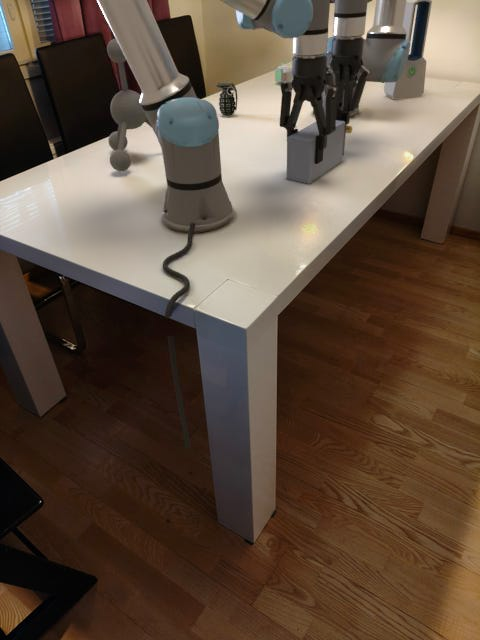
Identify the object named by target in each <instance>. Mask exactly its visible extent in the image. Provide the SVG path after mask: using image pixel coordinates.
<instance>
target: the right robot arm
mask: <svg viewBox="0 0 480 640" xmlns="http://www.w3.org/2000/svg"><path fill="white" fill-rule="evenodd" d="M406 1H407V0H375V7H374V16H373V21H372V22H373V23H372V26H371V28H369V30H367V31H366V22H367V10H368V3H371V2H373V0H330V4H334V12H333V23H332V24H333V25H332V26H333V27H332V36H328V45H327V52H326V53H325V54H324V55H326V57H327V65H326V75H325V80H326V83H327V85H329V86H331V87H334V86H336V87H337V88H338V91H337V94H336V98H335V102H336V120H338V121H345V122H347V123H346V126H349V124H350V119H351V118H354V117H356V116H357V115H359V112H360V102H361V99H362V95H363V92H364V90H365V86H366V83H367V82H368V83H369V82H371V83H381V84H385V82H396V81H398V80H399V78H400V77H401V75H402V73H403V71H404V69H405V66H406V63H407V59H408V56H409V54H410V52H411V42H410V41H409V40H408V39H406V34H407V33H406V31H405V30H404V28H403V19H404V13H405V7H406ZM365 33H366V37H365V38H364V37H363V36H364V35H365ZM322 99H323V103H322V104H323V108H324V113H325V117H326V96H325V91H323V93H322ZM316 101H317V100H316ZM312 114H313V116H315V114H314V110H313V109H312Z"/></svg>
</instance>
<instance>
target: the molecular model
mask: <svg viewBox="0 0 480 640" xmlns="http://www.w3.org/2000/svg"><path fill="white" fill-rule="evenodd" d="M106 52H107V55H108V57H109V59H110V60H111V61H112V62H114V63H115V64H117V68H118V73H119V79H120V85H121V89H122V90H120V91H118V92H117V93H116V94H115V95H114V96H113V97H112V99H111V102H110V115H111V117H112V119H113V120H114V122H115V123H116V124H117V125H118V127H117V131H113V132H111V133H110V134H109V136H108V138H107V139H108V145H109V147H110V148H111V149H112V150H113V152H111V154H110V156H109V163H110V166H111V167H112V169H114V170H115V171H117V172H126V171H128V169H129V168H130V167H131V164H132V158H131V156H130V154H129V153H128V152H127V151H126V148H127V147H128V137H127V130H134V129H138V128H140V127H141V126H143V124H144V123H146V124H147V125H148V126H149V127H150V128H152V126H151V124H150V122H149V120H148V118H147V116H146V114H145V112H144V110H143V108H142V106H141V104H140V102H139V101H140V97H141V94H140V93H139V92H137V91H134V90H132V89H129V86H128V81H127V73H126V69H125V62H127V60H126V58H125V56H124V54H123V52H122V50H121V48H120V46H119V44H118V42H117V40H116V38H115V37H114V38H112V39H111V40H109V42H108V44H107V46H106Z"/></svg>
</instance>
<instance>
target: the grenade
mask: <svg viewBox="0 0 480 640" xmlns="http://www.w3.org/2000/svg"><path fill="white" fill-rule="evenodd" d="M215 87H217V88H219V89H221V93H219V97H218V101H219V102H218V106H219V108H218V109H219V112H220V114H221V115H222V116H224V117H231V116H233V115H234V113H235V112H236V111H237V108H238V89H237V87H236V85H235V84H234V83H233V82H218V83H217V84H216V86H215ZM232 91H233V92H232ZM234 94H235V96H234Z"/></svg>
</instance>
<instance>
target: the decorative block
mask: <svg viewBox="0 0 480 640" xmlns="http://www.w3.org/2000/svg"><path fill="white" fill-rule="evenodd" d="M292 78H293V74H292V61H290V62H287V63H286V62H284V61H283V62H280V65H278V66H277V68H275V69H274V82H277V83H278V82H279V83H284V82H287V81H289V82H291V81H292Z"/></svg>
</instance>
